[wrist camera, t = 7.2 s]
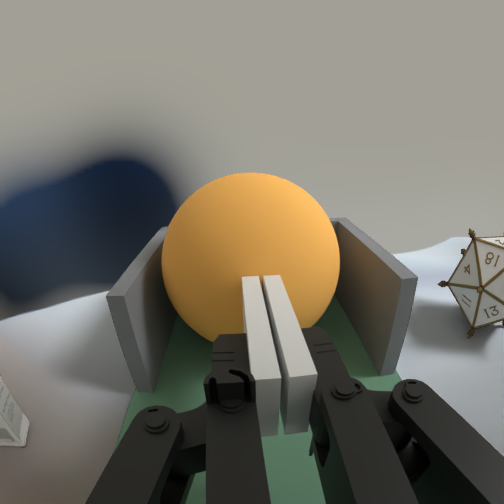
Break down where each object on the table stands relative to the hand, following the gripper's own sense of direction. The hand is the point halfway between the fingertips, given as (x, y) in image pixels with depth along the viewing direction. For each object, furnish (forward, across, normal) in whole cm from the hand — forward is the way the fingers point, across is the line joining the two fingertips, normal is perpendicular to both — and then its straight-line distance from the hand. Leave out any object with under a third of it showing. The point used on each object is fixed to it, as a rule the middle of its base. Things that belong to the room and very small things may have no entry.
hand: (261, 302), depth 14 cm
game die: (+3, +19, -6) cm, 20 cm away
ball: (+5, 0, 0) cm, 5 cm away
